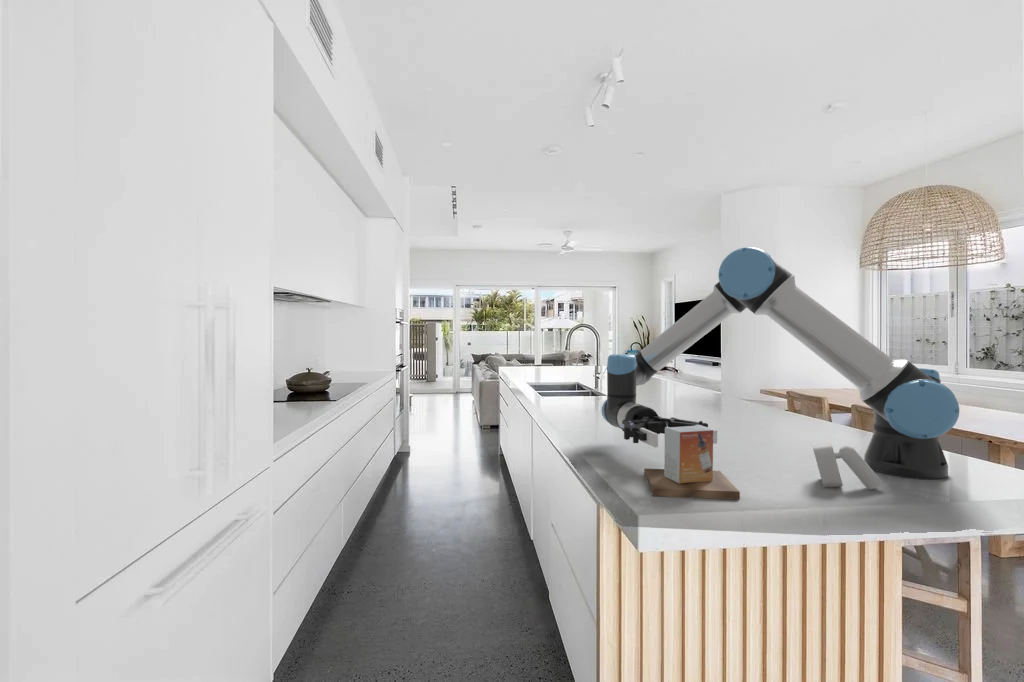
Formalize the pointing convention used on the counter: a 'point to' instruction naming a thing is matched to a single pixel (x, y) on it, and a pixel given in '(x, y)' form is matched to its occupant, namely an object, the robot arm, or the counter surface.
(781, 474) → the counter surface
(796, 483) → the counter surface
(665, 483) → the board
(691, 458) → the small box
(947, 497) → the counter surface
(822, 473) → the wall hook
